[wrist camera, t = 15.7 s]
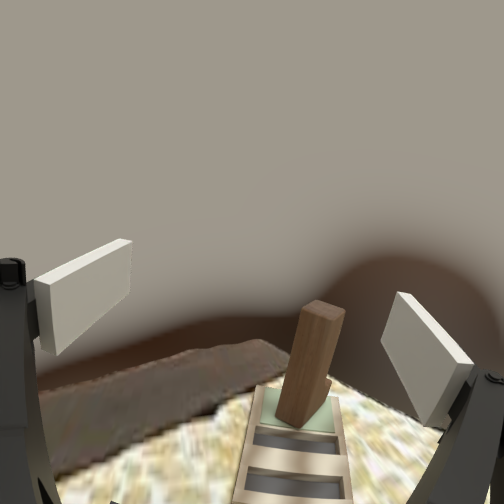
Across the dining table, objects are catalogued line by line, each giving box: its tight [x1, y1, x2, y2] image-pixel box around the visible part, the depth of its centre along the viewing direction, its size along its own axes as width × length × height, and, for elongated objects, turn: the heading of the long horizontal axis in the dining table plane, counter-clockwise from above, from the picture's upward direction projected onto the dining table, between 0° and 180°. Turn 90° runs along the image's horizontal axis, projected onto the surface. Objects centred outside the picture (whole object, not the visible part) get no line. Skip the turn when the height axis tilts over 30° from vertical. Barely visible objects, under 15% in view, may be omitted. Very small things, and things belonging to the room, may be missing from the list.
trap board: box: [232, 385, 354, 504], centre depth 39 cm, size 14×24×2 cm, turn 173°
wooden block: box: [275, 300, 345, 429], centre depth 43 cm, size 9×4×18 cm, turn 144°
